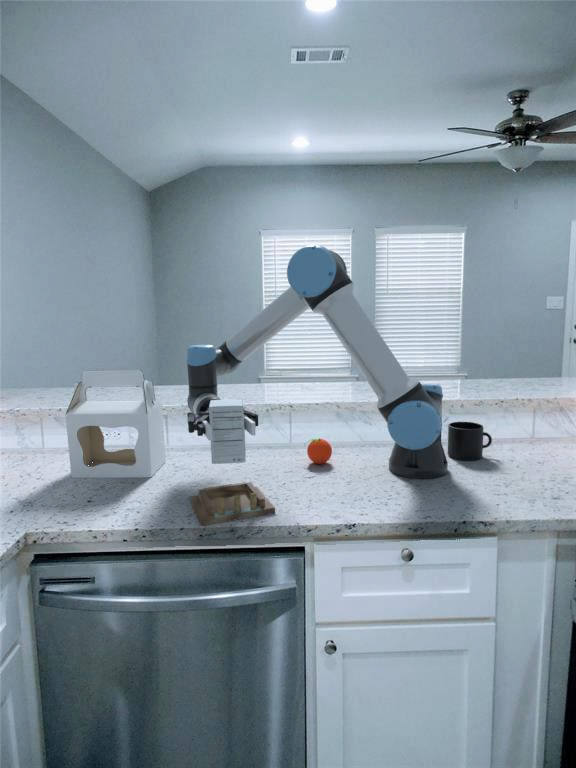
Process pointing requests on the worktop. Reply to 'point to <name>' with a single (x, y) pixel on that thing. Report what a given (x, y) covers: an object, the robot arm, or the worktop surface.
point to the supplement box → (227, 431)
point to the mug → (466, 441)
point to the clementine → (319, 451)
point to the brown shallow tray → (230, 503)
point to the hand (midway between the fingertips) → (232, 431)
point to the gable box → (113, 414)
